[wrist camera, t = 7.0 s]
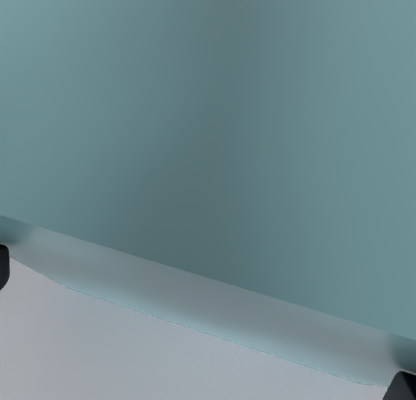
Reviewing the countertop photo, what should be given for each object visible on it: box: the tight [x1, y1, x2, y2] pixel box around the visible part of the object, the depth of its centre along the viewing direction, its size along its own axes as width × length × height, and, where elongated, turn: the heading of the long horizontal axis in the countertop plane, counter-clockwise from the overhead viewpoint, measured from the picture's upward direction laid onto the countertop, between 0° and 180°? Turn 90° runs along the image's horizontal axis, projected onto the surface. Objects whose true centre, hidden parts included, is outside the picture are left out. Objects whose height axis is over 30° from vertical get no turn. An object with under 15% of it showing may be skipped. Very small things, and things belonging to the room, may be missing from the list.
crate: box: [0, 0, 416, 387], centre depth 11 cm, size 9×12×10 cm
